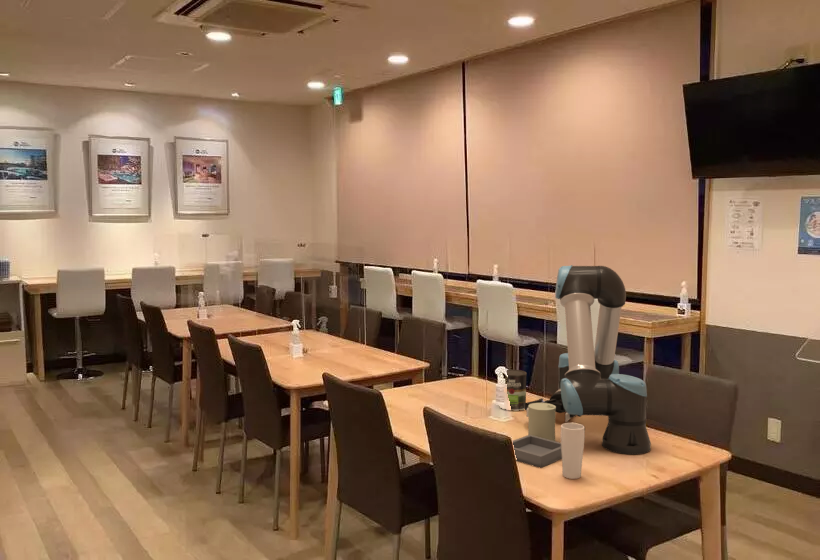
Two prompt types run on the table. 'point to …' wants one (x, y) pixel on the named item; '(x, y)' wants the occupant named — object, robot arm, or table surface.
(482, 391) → the table surface
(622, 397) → the robot arm
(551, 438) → the can
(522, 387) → the coffee can
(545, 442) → the tray
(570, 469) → the drinking glass
